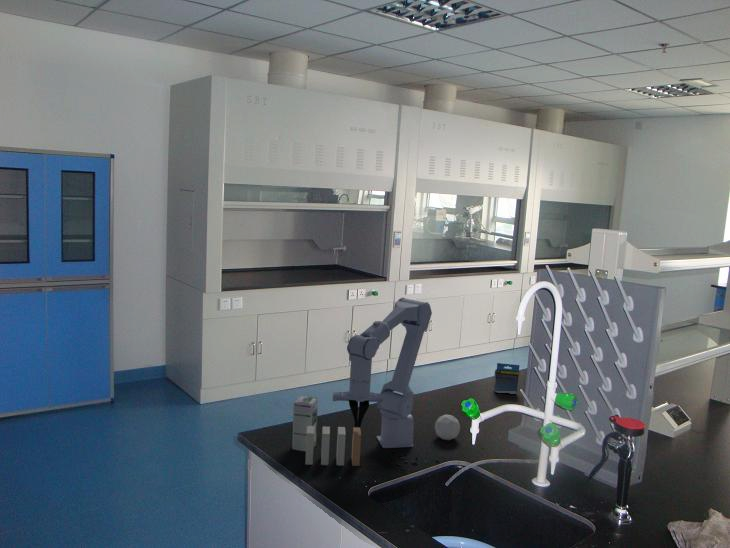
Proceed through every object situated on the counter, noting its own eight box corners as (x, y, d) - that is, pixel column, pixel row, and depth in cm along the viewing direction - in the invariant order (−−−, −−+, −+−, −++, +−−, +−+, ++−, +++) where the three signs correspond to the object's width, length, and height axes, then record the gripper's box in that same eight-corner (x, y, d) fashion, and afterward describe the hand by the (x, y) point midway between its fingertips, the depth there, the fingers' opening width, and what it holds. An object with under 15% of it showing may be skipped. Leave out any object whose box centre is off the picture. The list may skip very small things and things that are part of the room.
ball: (446, 444, 186) (455, 420, 189) (458, 445, 179) (468, 421, 182) (426, 433, 185) (436, 409, 188) (438, 434, 177) (448, 409, 180)
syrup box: (310, 452, 169) (313, 404, 167) (291, 449, 170) (293, 401, 168) (316, 444, 174) (318, 397, 172) (297, 441, 175) (299, 394, 173)
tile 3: (328, 456, 166) (329, 426, 165) (328, 465, 161) (329, 433, 160) (321, 456, 166) (322, 426, 165) (320, 464, 161) (322, 433, 160)
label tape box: (515, 392, 233) (518, 362, 231) (517, 395, 229) (520, 365, 227) (492, 390, 233) (495, 360, 232) (494, 393, 229) (496, 363, 228)
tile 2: (343, 457, 167) (345, 427, 165) (343, 465, 162) (345, 434, 161) (336, 457, 167) (337, 426, 165) (336, 465, 162) (338, 434, 160)
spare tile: (358, 457, 167) (360, 427, 166) (359, 465, 162) (361, 434, 161) (351, 457, 167) (353, 427, 166) (352, 465, 162) (353, 434, 161)
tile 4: (313, 456, 166) (314, 426, 165) (312, 464, 161) (314, 433, 160) (305, 456, 166) (307, 426, 165) (305, 464, 161) (306, 433, 160)
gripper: (334, 382, 157) (331, 431, 159) (388, 384, 158) (384, 432, 160) (333, 374, 164) (331, 421, 166) (385, 376, 165) (382, 422, 167)
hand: (357, 426), depth 163 cm, fingers closed
